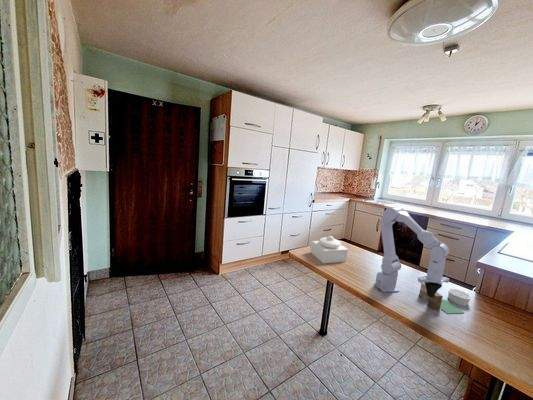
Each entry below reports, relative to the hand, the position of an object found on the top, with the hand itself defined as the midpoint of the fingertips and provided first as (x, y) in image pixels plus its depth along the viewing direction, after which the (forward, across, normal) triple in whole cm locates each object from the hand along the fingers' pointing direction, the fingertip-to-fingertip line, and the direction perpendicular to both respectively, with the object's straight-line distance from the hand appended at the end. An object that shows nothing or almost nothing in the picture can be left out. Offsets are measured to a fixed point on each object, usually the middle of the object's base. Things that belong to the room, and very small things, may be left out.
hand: (429, 296), depth 109 cm
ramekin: (+6, +21, +4) cm, 22 cm away
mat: (+6, +10, 0) cm, 12 cm away
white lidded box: (+6, -26, +56) cm, 62 cm away
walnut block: (+6, +3, 0) cm, 7 cm away
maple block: (+6, +6, +9) cm, 12 cm away
